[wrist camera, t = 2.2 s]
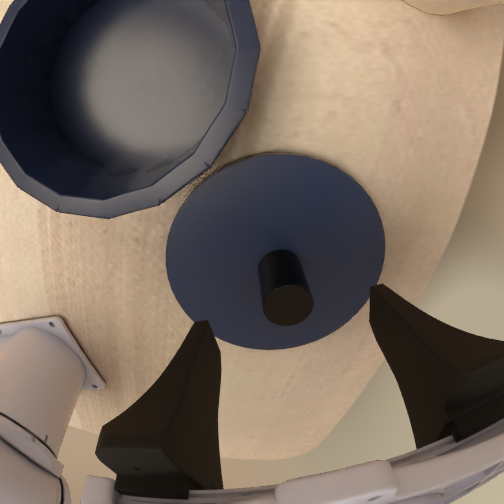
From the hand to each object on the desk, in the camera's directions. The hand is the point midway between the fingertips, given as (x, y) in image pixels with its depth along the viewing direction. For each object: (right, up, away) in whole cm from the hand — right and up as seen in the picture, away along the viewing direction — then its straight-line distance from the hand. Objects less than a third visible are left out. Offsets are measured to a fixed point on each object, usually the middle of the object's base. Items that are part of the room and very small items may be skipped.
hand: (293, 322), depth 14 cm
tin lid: (0, +2, +4) cm, 5 cm away
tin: (-8, +12, 0) cm, 14 cm away
